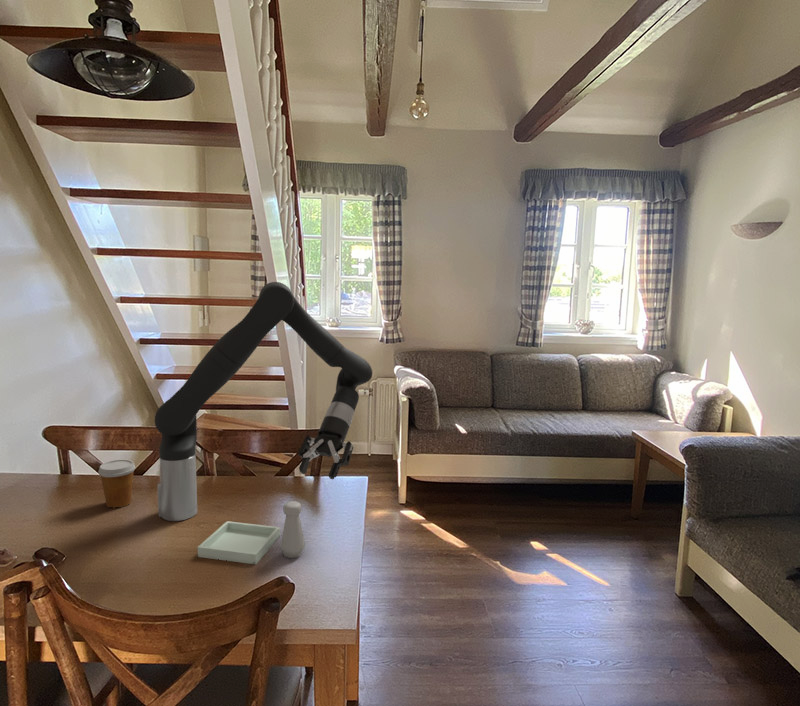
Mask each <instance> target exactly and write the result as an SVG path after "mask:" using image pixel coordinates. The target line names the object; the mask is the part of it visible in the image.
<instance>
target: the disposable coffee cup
mask: <svg viewBox="0 0 800 706" xmlns="http://www.w3.org/2000/svg"><path fill="white" fill-rule="evenodd" d="M135 469H136V465H135V463H134V461H132V460H130V459H113V460H109V461H105V462H103V463H102V464H101V465H99V469H98V471H97V472H98V474H99V476H100V480H101V483H102V484H101V485H102V491H103V495H104V499H105V504H106V507H107V506H108V507H107V508H109V507H113V508H112V509H116V508H115V507H121V508H124V507H127V506H128V504H129V505H130V504H131V502H132V493H133V481H134V472H135ZM126 505H127V506H126ZM123 506H124V507H123Z"/></svg>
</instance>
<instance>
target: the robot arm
mask: <svg viewBox="0 0 800 706" xmlns="http://www.w3.org/2000/svg"><path fill="white" fill-rule="evenodd" d="M281 321H283V322H284V323H286V324H287V326H289V328H291V329H292V330H293V331H295V332H296V334H297V335H298V336H299V337H300V338H301V339H302V340H303V341H304V342H305V344H307V346H308V347H309V348H310V349H311V350H312V351H313V352H314V353H315V354H316V355H317V356H318V357H319V358H320V359H321V360H323V362H324V363H325V364H327V365H328V366H329V367H332V368H340V370H339V373H338V375H337V378H336V384H335V393H334V395H333V397H332V400H331V402H330V404H329V406H328V407H327V410H326V413H325V414H324V417H323V420H322V422H321V425H320V428H318V429H319V430H318V434H317V436H316V437H311V436H310V435H306V436H304V439H303V442H302V444H301V445H300V448H299V450H298V451H297V452H298V453H297V455H298V456H299V457H300V458H301V462H300V465H299V467H298V469H299V472H300V474H301V475H306V473H307V471H308V468H309V466H310V461H312V460H313V459H314V458H318V457H319V456H322V457H324V456H325V457H329V458H333V463H332V465H331V467H330V470H329V473H328V478H329V479H330V480H335V478H336V477H337V476H338V474H339V471H340V469H341V467H342V466H343V467H344V466H345V467H348V465H349V464H350V461H351V457H352V453H353V450H354V445H353V444H352V442H351V440H350V441H347V442H345V440H346V438H347V435H348V433H349V430H350V427H351V425H352V421H353V419H354V413H355V412H356V409H357V406H358V403H359V399H360V396H359V393H358V391H357V390H356V389H357V387H358V386H361V385H364V384H366V383H368V382H370V381H371V379H372V377H373V369H372V366H371V364H370V363H369V362H368V360H366V359H365V358H363V357H362V356H360V355H359V354H357V353H355V352H354V351H353V350H350V349H348V348H347V347H346V346H344V345H343V344H342V343H341V342H340V341H339V340H338V339H337V338H336V337H335V336H334V335H333V334H331V333H330V332H329V331H328V330H327V329H326V328H325V327H323V326H322V325H321V324H320V323H319V322H318V321H317V320H316V319H314V317H312V316H311V314H310V313H308V312H307V311H306V309H305V308H304V307H303V306H302V305H301V303H299V301H298V300H297V298H296V297H295V296H294V294H293V292H292V290H291V288H289V287H288V286H287V285H286V284H284V283H283V282H279V281H272V282H268V283H266V284H265V285H263V287H262V288H261V289H260V292H259V295H258V298H257V300H256V302H255V303H254V304H253V306H252V307H251V308H250V310H249V312H247V314H246V315H245V316H244V317H243V318H242V319H241V321H239V322H238V323H237V324H236V325H235V326H233V327H232V328H231V329H229V330H228V331H226V332H225V334H223V335H222V336H221V337H220V338H219V339H218V340H217V341H216V343H214V344H213V346H212V347H211V348H210V349H209V350H208V352H207V353H206V354H205V355H204V356H203V358H202V359H201V360H200V362H199V363H198V364H197V365H196V367H195V369H194V370H193V371H192V373H191V374H190V376H189V377H188V379H187V380H186V381H185V383H183V385H182V386H181V387H180V388H179V389H178V390H177V391H176V392H175V393H174V394H173V395H171V397H170V398H169V399H167V400H166V401H164V403H162V404H161V405H160V406H159V407H158V409H157V410H156V412H155V415H154V426H155V429H157V431H158V432H159V433H160V434H161V441H160V445H159V449H158V451H159V452H158V453H159V470H160V471H159V473H160V474H159V475H160V482H159V483H157V486H156V487H157V507H158V517H159V518H162V519H163V520H165V521H171V522H179V521H185V520H188V519H190V518H193V517H194V516H196V515H197V514H198V492H197V491H198V490H197V461H196V460H197V459H196V447H197V446H196V444H197V440H198V439H197V438H198V437H197V430H198V429H197V427H198V426H197V423H198V421H197V414H198V412H199V411H200V410H201V409H202V408H203V406H204V405H205V404H206V402H207V401H208V400H210V398H212V397H213V395H215V394H216V393H217V392H219V390H221V389H222V388H223V387H224V386H225V385H226V384H227V383H228V382H229V381H230V380H231V379H232V378H233V377H234V376H235V374H237V373H238V371H240V369H241V368H242V366H244V364H245V363H246V362H247V360H249V358H250V356H252V354H253V353H254V352H255V351H256V349H257V348H258V346H259V345H260V343H261V342H262V341H263V339H264V338H265V337H266V336H267V335H268V334H269V333H270V332H271V330H273V329H274V328H275V327H276V326H277V325H278V324H279V323H281ZM313 444H314V445H313ZM342 449H343V453H342V456H341V458H340V455H339V452H340V451H341V450H342Z"/></svg>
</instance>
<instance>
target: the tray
mask: <svg viewBox="0 0 800 706" xmlns="http://www.w3.org/2000/svg"><path fill="white" fill-rule="evenodd" d="M280 537H281V527H280V526H273V525H263V524H255V523H254V524H253V523H247V522H246V523H245V522H238V521H237V522H236V521H228V520H226V522H224V523H223V524H222V525H221V526H220V527H218V529H216V530H215V531H214V532H213V533H211V535H209V536H208V537H207V538H206V539H204V541H203V542H202V543H200V544H199V545H198V546H197V557H198V558H206V559H210V560H211V559H213V560H218V559H219V560H220V561H226V560H227V561H226V562H233V563H235V562H236V563H240V564H241V563H242V564H250V565H257V564H258V563H259V562H260V561H261V560H262V558H263V557H264V556H265V555H266V553H268V551H269V550H271V548H272V547H273V546H274V544H275V543H276V542H277V541H278V540H279V539H280Z"/></svg>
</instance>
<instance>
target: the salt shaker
mask: <svg viewBox="0 0 800 706" xmlns="http://www.w3.org/2000/svg"><path fill="white" fill-rule="evenodd" d="M301 512H302V505H301V503H300V502H299V501H295V500H294V501H292V500H291V501H288V502H286V503H285V504H284V505H283V514H284V515H285V519H284V525H283V530H282V535H281V540H280V541H281V542H280V549H281V551H282V553H283V556H284V557H285V558H288V559H292V558H293V559H294V558H299V556H300V555H302V553H303V551H304V548H305V546H306V542H305V537H304V533H303V532H304V531H303V527H302V523H301V517H300V514H301Z"/></svg>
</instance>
